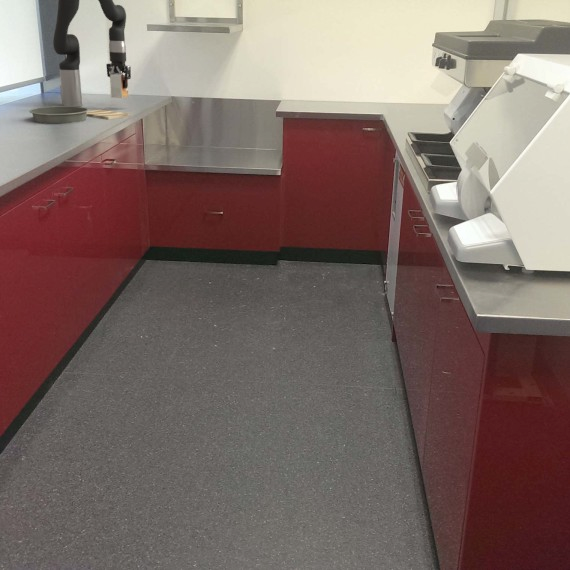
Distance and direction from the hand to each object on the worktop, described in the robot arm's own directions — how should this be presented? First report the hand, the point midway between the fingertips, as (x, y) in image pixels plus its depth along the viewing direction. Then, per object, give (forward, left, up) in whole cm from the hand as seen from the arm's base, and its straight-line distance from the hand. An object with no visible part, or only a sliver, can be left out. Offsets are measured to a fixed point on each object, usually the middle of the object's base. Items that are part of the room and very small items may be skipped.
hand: (119, 87), depth 323 cm
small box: (0, 0, -5) cm, 5 cm away
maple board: (+8, -18, -10) cm, 22 cm away
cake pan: (+4, -39, -11) cm, 40 cm away
